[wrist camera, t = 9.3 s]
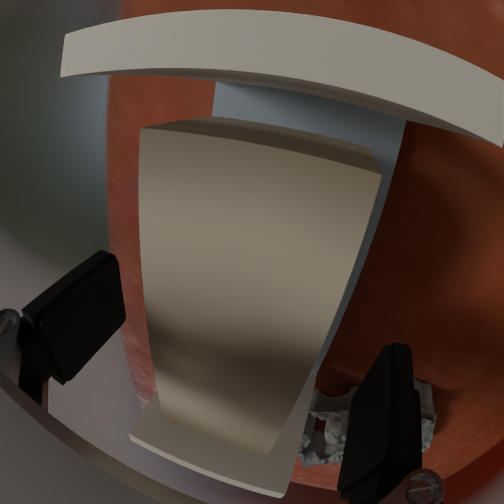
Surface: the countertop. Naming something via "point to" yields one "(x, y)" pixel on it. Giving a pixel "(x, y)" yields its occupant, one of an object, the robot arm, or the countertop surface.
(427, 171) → the countertop surface
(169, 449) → the peg stand
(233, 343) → the beige wavy block
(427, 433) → the egg carton
